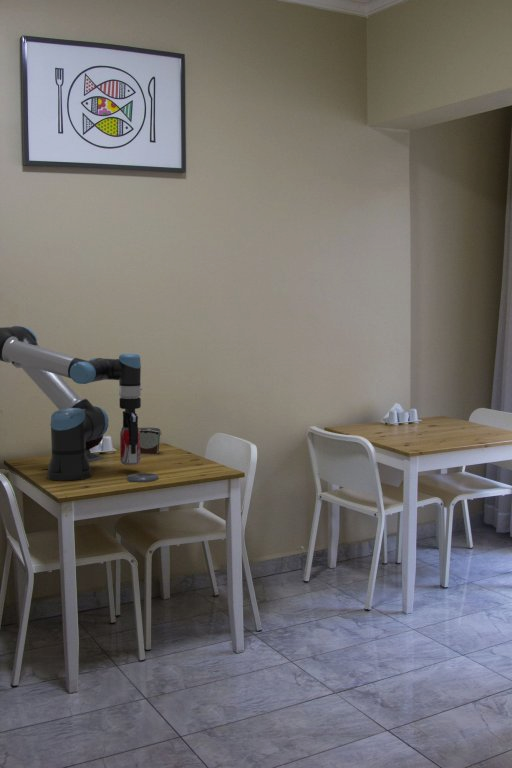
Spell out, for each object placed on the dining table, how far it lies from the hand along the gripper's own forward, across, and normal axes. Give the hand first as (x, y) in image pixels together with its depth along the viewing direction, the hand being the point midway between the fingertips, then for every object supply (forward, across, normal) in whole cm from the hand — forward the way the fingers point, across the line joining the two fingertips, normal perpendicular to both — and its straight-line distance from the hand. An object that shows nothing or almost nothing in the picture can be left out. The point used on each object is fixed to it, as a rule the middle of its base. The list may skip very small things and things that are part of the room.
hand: (130, 460), depth 307 cm
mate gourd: (+5, +31, +11) cm, 33 cm away
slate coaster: (+4, -13, -1) cm, 14 cm away
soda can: (+1, 0, 0) cm, 1 cm away
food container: (+5, +34, -15) cm, 37 cm away
